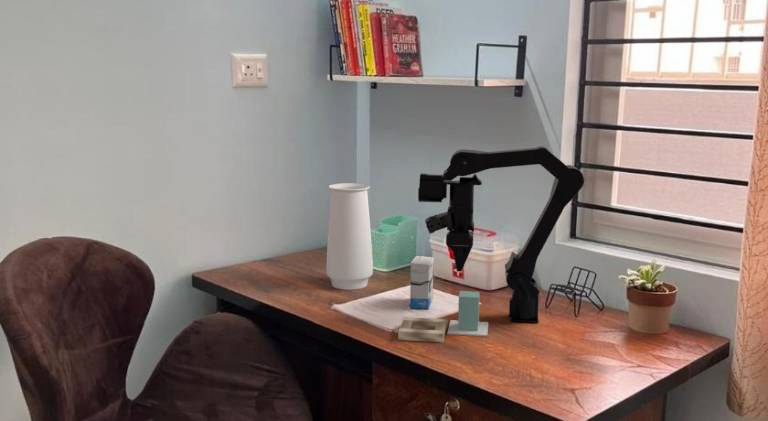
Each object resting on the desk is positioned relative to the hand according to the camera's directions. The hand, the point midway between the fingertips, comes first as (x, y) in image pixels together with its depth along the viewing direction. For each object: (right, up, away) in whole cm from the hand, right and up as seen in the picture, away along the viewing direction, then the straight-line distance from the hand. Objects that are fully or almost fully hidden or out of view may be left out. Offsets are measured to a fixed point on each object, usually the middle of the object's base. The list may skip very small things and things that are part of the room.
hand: (459, 266), depth 183 cm
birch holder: (-9, -15, -10) cm, 20 cm away
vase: (-28, -8, +29) cm, 41 cm away
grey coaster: (+1, -14, -7) cm, 16 cm away
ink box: (-9, -11, +12) cm, 18 cm away
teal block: (+1, -14, -7) cm, 15 cm away
